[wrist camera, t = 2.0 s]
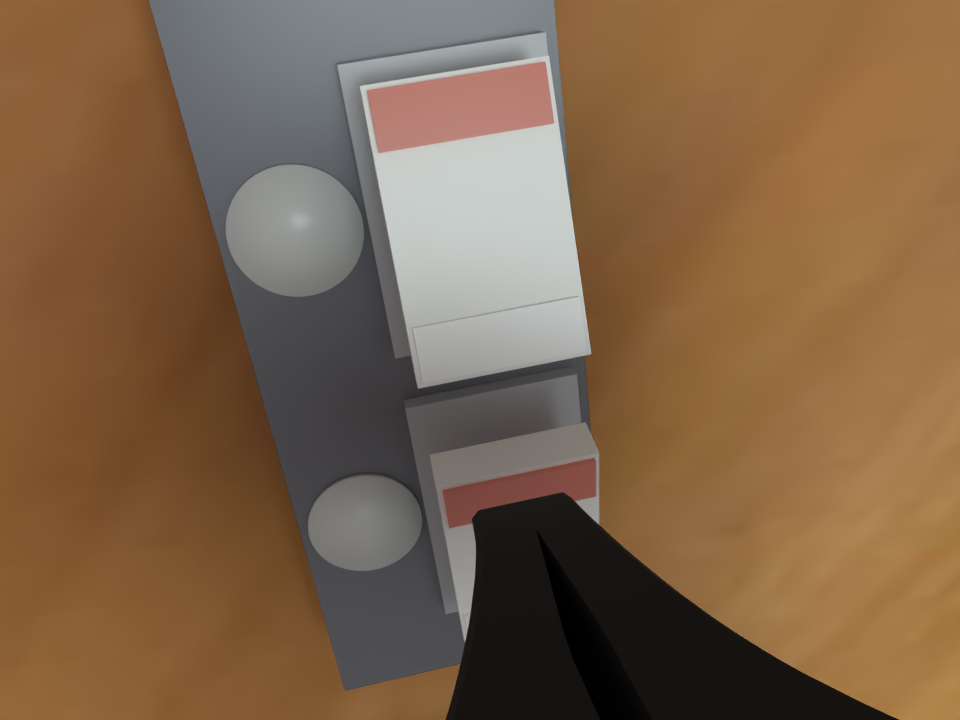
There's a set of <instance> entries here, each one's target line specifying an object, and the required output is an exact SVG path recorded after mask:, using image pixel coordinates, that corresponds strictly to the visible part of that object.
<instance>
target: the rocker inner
mask: <svg viewBox="0 0 960 720" xmlns="http://www.w3.org/2000/svg"><path fill="white" fill-rule="evenodd" d="M430 460H431V466H432V471H433V477H434V482H435V488H436V493H437V499H438V504H439V510H440V515H441V521H442V526H443V531H444V537H445V542H446V548H447V553H448V559H449V564H450V570H451V575H452V581H453V586H454V592H455V597H456V603H457V608H458V613H459V618H460V623H461V627H462V632H463V637H464V642H465V640H466V636H467V631H468V626H469V620H470V614H471V605H472V597H473V589H474V580H475V564H476V542H475V536H474V530H473V524H472V518H473V516H474V515H475V514H476V513H477V511H478V510H482V509H487V508H491V507H496V506H501V505H505V504H510V503H514V502H519V501H524V500H528V499H533V498H538V497H542V496H547V495H552V494H556V493H561V492H564V493H565V494H567V495H568V496H570V497H571V498H572V499H573V500H574V501H575V502H576V503H577V504H578V505H579V506H580V507H581V508H582V509H583V510H584V511H585V512H586V513H587V514H588V515H589V516H590V517H591V518H592V519H593V520H594V521H596V522H597V523H598V524H599V451H598V449H597V447H596V445H595V442H594V440H593V438H592V436H591V433H590V431H589V429H588V427H587V425H586V422H585V423H580V424H575V425H570V426H565V427H560V428H556V429H551V430H546V431H541V432H536V433H532V434H527V435H522V436H517V437H512V438H507V439H503V440H498V441H493V442H488V443H483V444H479V445H474V446H469V447H464V448H459V449H454V450H450V451H445V452H440V453H435V454H430Z"/></svg>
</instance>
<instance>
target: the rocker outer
mask: <svg viewBox="0 0 960 720" xmlns="http://www.w3.org/2000/svg"><path fill="white" fill-rule="evenodd" d="M360 95H361V100H362V105H363V110H364V115H365V121H366V126H367V131H368V136H369V141H370V147H371V152H372V157H373V162H374V167H375V172H376V178H377V183H378V188H379V193H380V198H381V204H382V209H383V214H384V219H385V224H386V229H387V235H388V240H389V245H390V250H391V255H392V261H393V266H394V271H395V276H396V281H397V286H398V292H399V297H400V302H401V307H402V312H403V318H404V323H405V328H406V333H407V338H408V343H409V349H410V354H411V359H412V364H413V369H414V375H415V379H416V383H417V386H418V389H419V388H424V387H429V386H434V385H439V384H444V383H449V382H454V381H459V380H464V379H469V378H474V377H479V376H484V375H489V374H494V373H500V372H505V371H510V370H515V369H520V368H525V367H530V366H535V365H540V364H545V363H550V362H555V361H560V360H565V359H570V358H575V357H580V356H585V355H590V354H591V348H590V341H589V333H588V326H587V319H586V312H585V305H584V298H583V291H582V284H581V277H580V270H579V263H578V256H577V249H576V242H575V235H574V228H573V221H572V214H571V207H570V200H569V193H568V186H567V178H566V171H565V164H564V157H563V150H562V143H561V136H560V129H559V122H558V115H557V108H556V101H555V94H554V87H553V80H552V73H551V66H550V59H549V56H543V57H537V58H531V59H524V60H518V61H512V62H506V63H500V64H493V65H487V66H481V67H475V68H468V69H462V70H456V71H450V72H444V73H437V74H431V75H425V76H419V77H412V78H406V79H400V80H394V81H388V82H381V83H375V84H369V85H363V86H360Z"/></svg>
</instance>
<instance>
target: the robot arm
mask: <svg viewBox="0 0 960 720" xmlns="http://www.w3.org/2000/svg"><path fill="white" fill-rule="evenodd" d="M472 524H473V530H474V536H475V542H476V564H475V580H474V589H473V597H472V605H471V614H470V620H469V626H468V631H467V636H466V640H465V645H464V650H463V655H462V660H461V665H460V669H459V674H458V678H457V681H456V685H455V689H454V693H453V697H452V700H451V704H450V707H449V711H448V714H447V717H446V720H899V719H896V718H894V717H892V716H889V715H887V714H885V713H883V712H881V711H879V710H876V709H874V708H872V707H870V706H868V705H866V704H863V703H861V702H859V701H857V700H855V699H853V698H851V697H850V696H848V695H846V694H844V693H842V692H840V691H838V690H836V689H834V688H832V687H830V686H828V685H826V684H824V683H822V682H820V681H818V680H816V679H814V678H812V677H810V676H808V675H806V674H804V673H802V672H800V671H798V670H797V669H795V668H793V667H791V666H789V665H788V664H786V663H784V662H782V661H781V660H779V659H777V658H775V657H774V656H772V655H770V654H769V653H767V652H766V651H764V650H762V649H761V648H759V647H757V646H756V645H754V644H753V643H751V642H749V641H748V640H746V639H744V638H743V637H741V636H740V635H738V634H737V633H735V632H734V631H732V630H731V629H729V628H728V627H726V626H725V625H723V624H722V623H720V622H719V621H717V620H716V619H715V618H713V617H712V616H710V615H709V614H707V613H706V612H705V611H703V610H702V609H701V608H699V607H698V606H696V605H695V604H694V603H692V602H691V601H690V600H688V599H687V598H685V597H684V596H683V595H681V594H680V593H679V592H678V591H676V590H675V589H674V588H672V587H671V586H670V585H668V584H667V583H666V582H665V581H663V580H662V579H661V578H660V577H658V576H657V575H656V574H655V573H654V572H652V571H651V570H650V569H649V568H648V567H646V566H645V565H644V564H643V563H642V562H640V561H639V560H638V559H637V558H635V557H634V556H633V555H632V554H631V553H630V552H628V551H627V550H626V549H625V548H624V547H623V546H622V545H620V544H619V543H618V542H617V541H616V540H615V539H614V538H613V537H612V536H611V535H609V534H608V533H607V532H606V531H605V530H604V529H603V528H602V527H601V526H600V525H599V524H598V523H597V522H596V521H594V520H593V519H592V518H591V517H590V516H589V515H588V514H587V513H586V512H585V511H584V510H583V509H582V508H581V507H580V506H579V505H578V504H577V503H576V502H575V501H574V500H573V499H572V498H571V497H570V496H568V495H567V494H565V493H564V492H561V493H556V494H552V495H547V496H542V497H538V498H533V499H528V500H524V501H519V502H514V503H510V504H505V505H501V506H496V507H491V508H487V509H482V510H478V511H477V513H476V514H475V515H474V516H473V518H472Z"/></svg>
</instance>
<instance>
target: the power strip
mask: <svg viewBox="0 0 960 720" xmlns="http://www.w3.org/2000/svg"><path fill="white" fill-rule="evenodd" d="M149 2H150V6H151V10H152V13H153V17H154V20H155V24H156V27H157V31H158V34H159V38H160V41H161V45H162V48H163V52H164V55H165V59H166V62H167V66H168V69H169V73H170V76H171V80H172V83H173V87H174V90H175V94H176V98H177V101H178V105H179V108H180V112H181V115H182V119H183V122H184V126H185V129H186V133H187V136H188V140H189V143H190V147H191V150H192V154H193V157H194V161H195V164H196V168H197V171H198V175H199V178H200V182H201V185H202V189H203V193H204V196H205V200H206V203H207V207H208V210H209V214H210V217H211V221H212V224H213V228H214V231H215V235H216V238H217V242H218V245H219V249H220V252H221V256H222V259H223V263H224V266H225V270H226V273H227V277H228V281H229V284H230V288H231V291H232V295H233V298H234V302H235V305H236V309H237V312H238V316H239V319H240V323H241V326H242V330H243V333H244V337H245V340H246V344H247V347H248V351H249V354H250V358H251V361H252V365H253V368H254V372H255V376H256V379H257V383H258V386H259V390H260V393H261V397H262V400H263V404H264V407H265V411H266V414H267V418H268V421H269V425H270V428H271V432H272V435H273V439H274V442H275V446H276V449H277V453H278V456H279V460H280V464H281V467H282V471H283V474H284V478H285V481H286V485H287V488H288V492H289V495H290V499H291V502H292V506H293V509H294V513H295V516H296V520H297V523H298V527H299V530H300V534H301V537H302V541H303V544H304V548H305V551H306V555H307V559H308V562H309V566H310V569H311V573H312V576H313V580H314V583H315V587H316V590H317V594H318V597H319V601H320V604H321V608H322V611H323V615H324V618H325V622H326V625H327V629H328V632H329V636H330V639H331V643H332V647H333V650H334V654H335V657H336V661H337V664H338V668H339V671H340V675H341V678H342V682H343V685H344V689H345V691H346V690H350V689H354V688H359V687H363V686H367V685H372V684H376V683H380V682H384V681H389V680H393V679H397V678H401V677H406V676H410V675H414V674H418V673H423V672H427V671H431V670H436V669H440V668H444V667H448V666H453V665H457V664H461V660H462V655H463V650H464V645H465V642H464V637H463V632H462V627H461V623H460V618H459V613H458V608H457V603H456V597H455V592H454V586H453V581H452V575H451V570H450V564H449V559H448V553H447V548H446V542H445V537H444V531H443V526H442V521H441V515H440V510H439V504H438V499H437V493H436V488H435V482H434V477H433V471H432V466H431V460H430V454H435V453H440V452H445V451H450V450H454V449H459V448H464V447H469V446H474V445H479V444H483V443H488V442H493V441H498V440H503V439H507V438H512V437H517V436H522V435H527V434H532V433H536V432H541V431H546V430H551V429H556V428H560V427H565V426H570V425H575V424H580V423H585V422H586V425H587V427H588V429H589V431H590V433H591V430H590V418H589V406H588V394H587V383H586V371H585V359H584V356H580V357H575V358H570V359H565V360H560V361H555V362H550V363H545V364H540V365H535V366H530V367H525V368H520V369H515V370H510V371H505V372H500V373H494V374H489V375H484V376H479V377H474V378H469V379H464V380H459V381H454V382H449V383H444V384H439V385H434V386H429V387H424V388H419V389H418V386H417V383H416V379H415V375H414V369H413V364H412V359H411V354H410V349H409V343H408V338H407V333H406V328H405V323H404V318H403V312H402V307H401V302H400V297H399V292H398V286H397V281H396V276H395V271H394V266H393V261H392V255H391V250H390V245H389V240H388V235H387V229H386V224H385V219H384V214H383V209H382V204H381V198H380V193H379V188H378V183H377V178H376V172H375V167H374V162H373V157H372V152H371V147H370V141H369V136H368V131H367V126H366V121H365V115H364V110H363V105H362V100H361V95H360V86H363V85H369V84H375V83H381V82H388V81H394V80H400V79H406V78H412V77H419V76H425V75H431V74H437V73H444V72H450V71H456V70H462V69H468V68H475V67H481V66H487V65H493V64H500V63H506V62H512V61H518V60H524V59H531V58H537V57H543V56H549V59H550V66H551V73H552V80H553V87H554V94H555V101H556V108H557V115H558V122H559V129H560V136H561V143H562V150H563V157H564V164H565V171H566V178H567V186H568V193H569V200H570V207H571V195H570V183H569V172H568V160H567V148H566V136H565V125H564V113H563V101H562V90H561V78H560V66H559V54H558V43H557V31H556V19H555V7H554V0H149ZM571 214H572V207H571ZM572 221H573V218H572Z"/></svg>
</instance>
